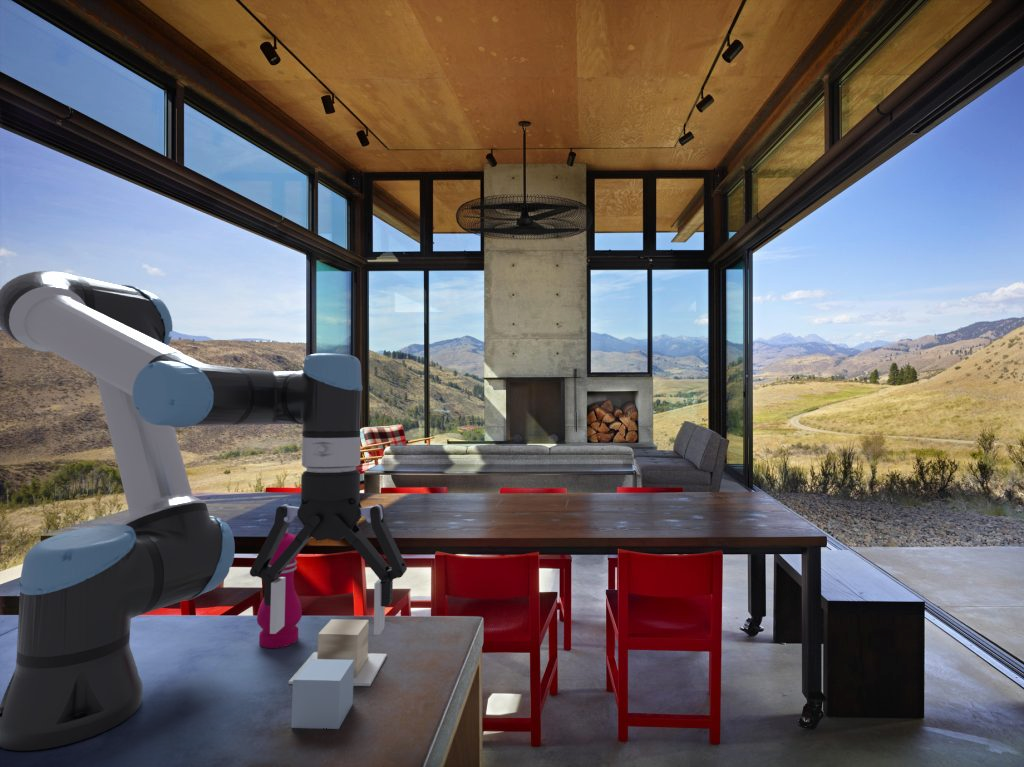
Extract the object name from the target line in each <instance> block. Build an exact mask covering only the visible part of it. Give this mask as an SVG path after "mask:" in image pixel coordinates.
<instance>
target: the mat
mask: <svg viewBox="0 0 1024 767" xmlns="http://www.w3.org/2000/svg"><path fill="white" fill-rule="evenodd" d="M317 654H318V651H314V652H312V654H310V656H309V657H308V658H307V659H306V660H305V661H304V663H303V664H302V665H301V667H300V668H298V670H297V671H296V672H295V673H294V675H292V677H291V678H290V679H289V680H288V685H293V679H294V678H295V677H296V676H297V674H298V673H299V672H300V671H301V670H302V668H303V667H304V666H305V665H306V664H307V663H308V661H309V660H310V659H317ZM387 657H388V656H387V653H375V652H374V653H371V652H370V653H369V652H368V658H367V660H366V662H365V663H364V665H363V666H362V668H361V670H360V671H359V673H358V674H357V676H353V687H371V685H372V683H373V682H374V680H375V678H376V676H377V674H378V673H379V670H380V669H381V668H382V666H383V663H384V662H385V660H386V658H387Z"/></svg>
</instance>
